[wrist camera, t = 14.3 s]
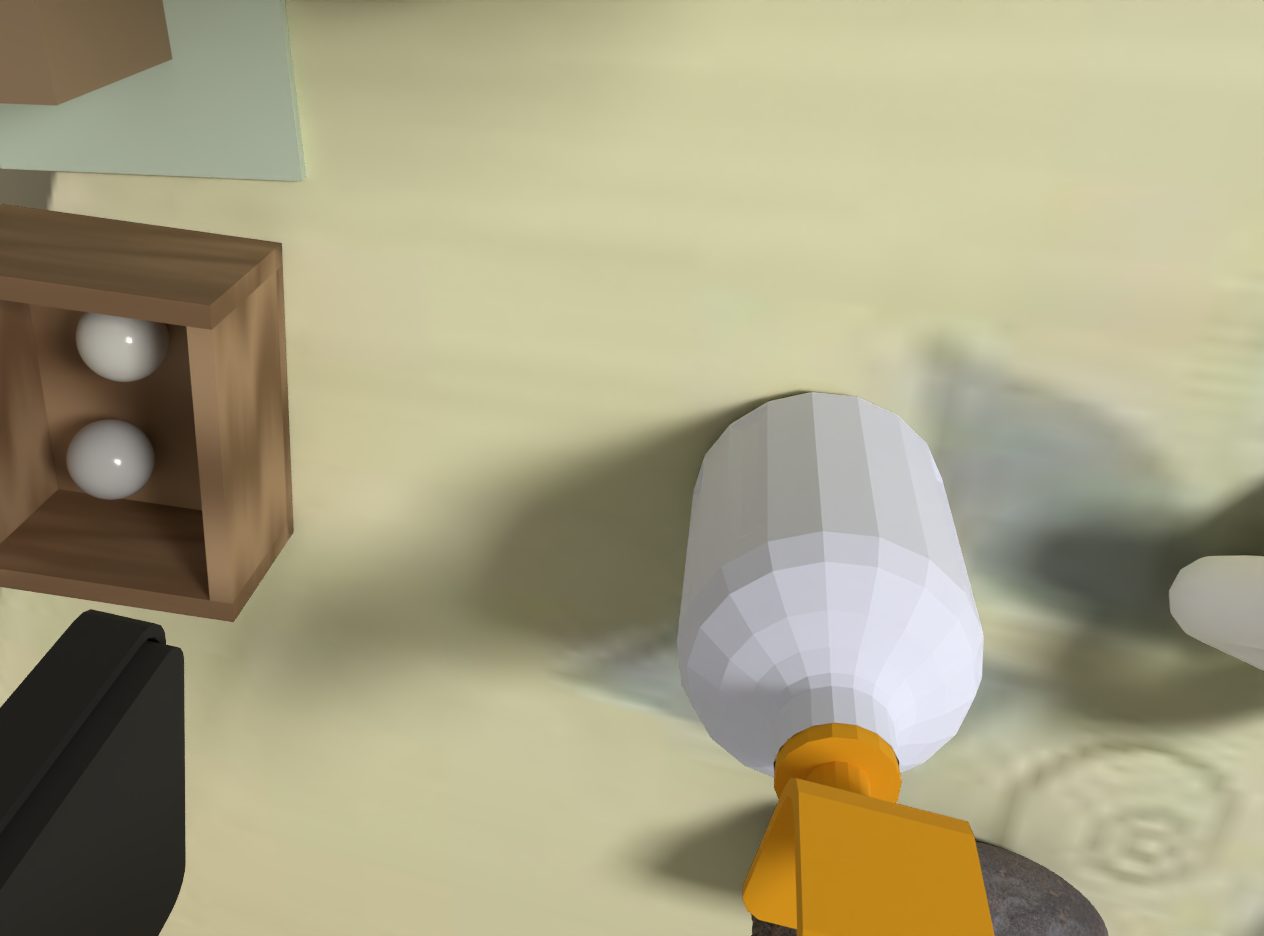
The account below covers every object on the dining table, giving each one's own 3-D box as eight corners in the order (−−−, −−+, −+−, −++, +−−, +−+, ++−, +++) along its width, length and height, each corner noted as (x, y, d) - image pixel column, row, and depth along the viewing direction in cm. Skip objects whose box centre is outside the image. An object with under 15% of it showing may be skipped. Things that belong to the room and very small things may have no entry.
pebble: (87, 399, 44) (44, 436, 41) (165, 411, 44) (127, 448, 41) (96, 469, 45) (55, 508, 43) (172, 480, 45) (135, 520, 42)
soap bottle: (669, 565, 45) (582, 1225, 24) (733, 358, 41) (696, 944, 20) (890, 621, 46) (999, 1326, 24) (978, 422, 41) (1206, 1070, 20)
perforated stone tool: (1114, 846, 50) (1161, 986, 44) (1065, 925, 53) (1104, 1068, 47) (776, 766, 50) (777, 895, 44) (744, 849, 53) (741, 983, 46)
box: (2, 204, 41) (-110, 260, 36) (281, 243, 41) (210, 305, 35) (49, 495, 47) (-41, 580, 42) (293, 532, 46) (233, 622, 41)
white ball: (97, 277, 41) (52, 308, 39) (180, 289, 41) (140, 321, 39) (107, 354, 43) (64, 389, 40) (187, 366, 43) (149, 402, 40)
